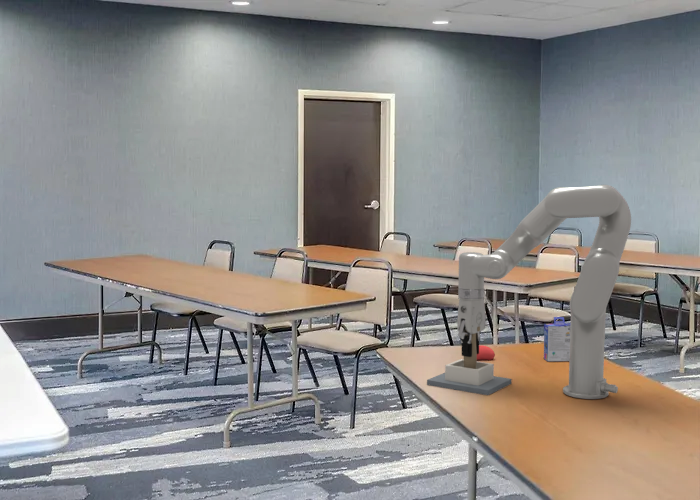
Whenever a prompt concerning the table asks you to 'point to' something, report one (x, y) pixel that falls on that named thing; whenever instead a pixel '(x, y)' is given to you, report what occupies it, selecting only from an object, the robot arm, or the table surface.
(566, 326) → the ink cartridge box
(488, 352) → the red bean shape
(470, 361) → the handle
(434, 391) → the table surface
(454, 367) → the socket
